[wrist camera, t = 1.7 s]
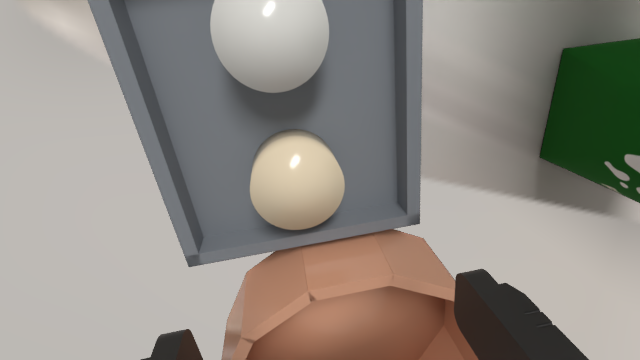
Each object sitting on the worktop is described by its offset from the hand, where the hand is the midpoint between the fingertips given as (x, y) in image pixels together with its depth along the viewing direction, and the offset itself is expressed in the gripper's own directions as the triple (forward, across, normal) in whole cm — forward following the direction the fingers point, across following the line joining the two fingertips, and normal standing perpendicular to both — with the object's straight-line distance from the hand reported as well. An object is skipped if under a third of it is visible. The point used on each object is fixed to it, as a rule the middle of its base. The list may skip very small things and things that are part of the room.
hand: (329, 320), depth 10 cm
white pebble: (+11, 0, -8) cm, 14 cm away
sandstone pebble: (+11, 0, 0) cm, 11 cm away
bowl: (+12, -2, +14) cm, 19 cm away
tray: (+12, 0, -4) cm, 13 cm away
